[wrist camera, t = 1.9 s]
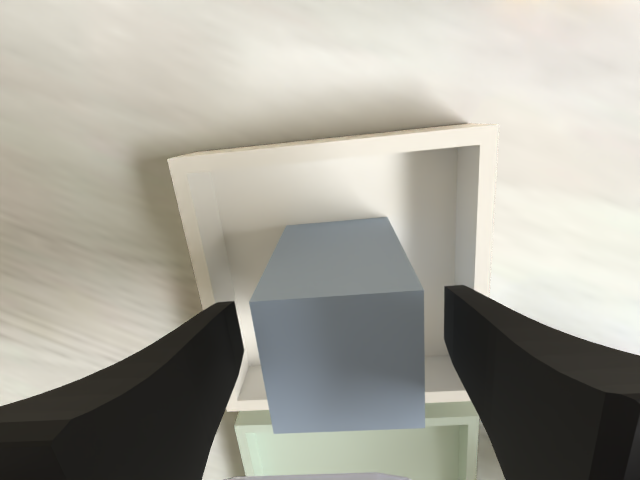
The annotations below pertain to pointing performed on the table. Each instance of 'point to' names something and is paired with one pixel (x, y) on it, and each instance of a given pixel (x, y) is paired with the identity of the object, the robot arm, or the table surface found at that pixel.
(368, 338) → the block
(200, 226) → the white square bin
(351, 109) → the table surface
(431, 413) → the tray
